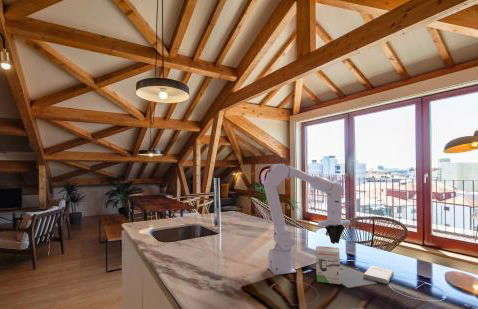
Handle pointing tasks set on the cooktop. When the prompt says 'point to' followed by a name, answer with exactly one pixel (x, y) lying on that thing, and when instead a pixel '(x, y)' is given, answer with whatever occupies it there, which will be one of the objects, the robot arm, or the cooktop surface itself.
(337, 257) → the ink box
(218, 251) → the cooktop surface
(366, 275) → the external hard drive
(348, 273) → the mat
